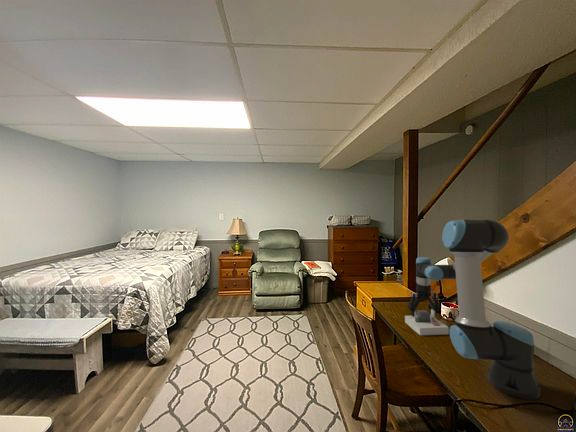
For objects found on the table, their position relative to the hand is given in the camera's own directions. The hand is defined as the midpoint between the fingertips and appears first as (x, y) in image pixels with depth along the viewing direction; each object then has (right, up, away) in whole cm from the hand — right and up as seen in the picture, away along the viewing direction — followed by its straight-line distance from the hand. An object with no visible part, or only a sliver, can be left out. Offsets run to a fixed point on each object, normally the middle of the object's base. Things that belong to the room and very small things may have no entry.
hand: (423, 321), depth 145 cm
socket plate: (0, -3, -2) cm, 4 cm away
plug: (0, -2, 0) cm, 2 cm away
